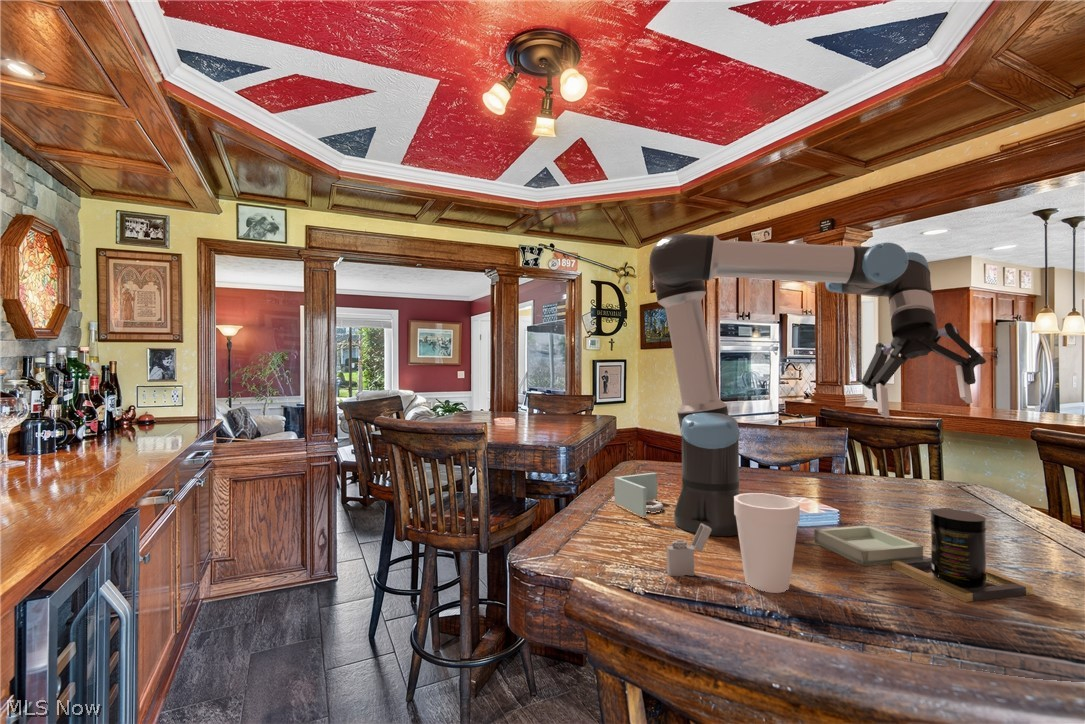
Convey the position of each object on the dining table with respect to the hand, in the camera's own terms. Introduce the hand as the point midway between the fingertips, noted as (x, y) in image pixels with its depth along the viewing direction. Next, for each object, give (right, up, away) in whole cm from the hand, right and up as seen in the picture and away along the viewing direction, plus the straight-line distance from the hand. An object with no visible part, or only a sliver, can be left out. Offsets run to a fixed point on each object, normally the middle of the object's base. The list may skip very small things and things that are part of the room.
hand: (922, 408), depth 93 cm
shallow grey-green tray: (-13, -26, -3) cm, 29 cm away
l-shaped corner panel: (-46, -27, +25) cm, 59 cm away
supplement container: (-6, -26, -15) cm, 31 cm away
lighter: (-48, -26, -12) cm, 56 cm away
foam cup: (-37, -26, -16) cm, 48 cm away
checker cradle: (-6, -26, -15) cm, 31 cm away
